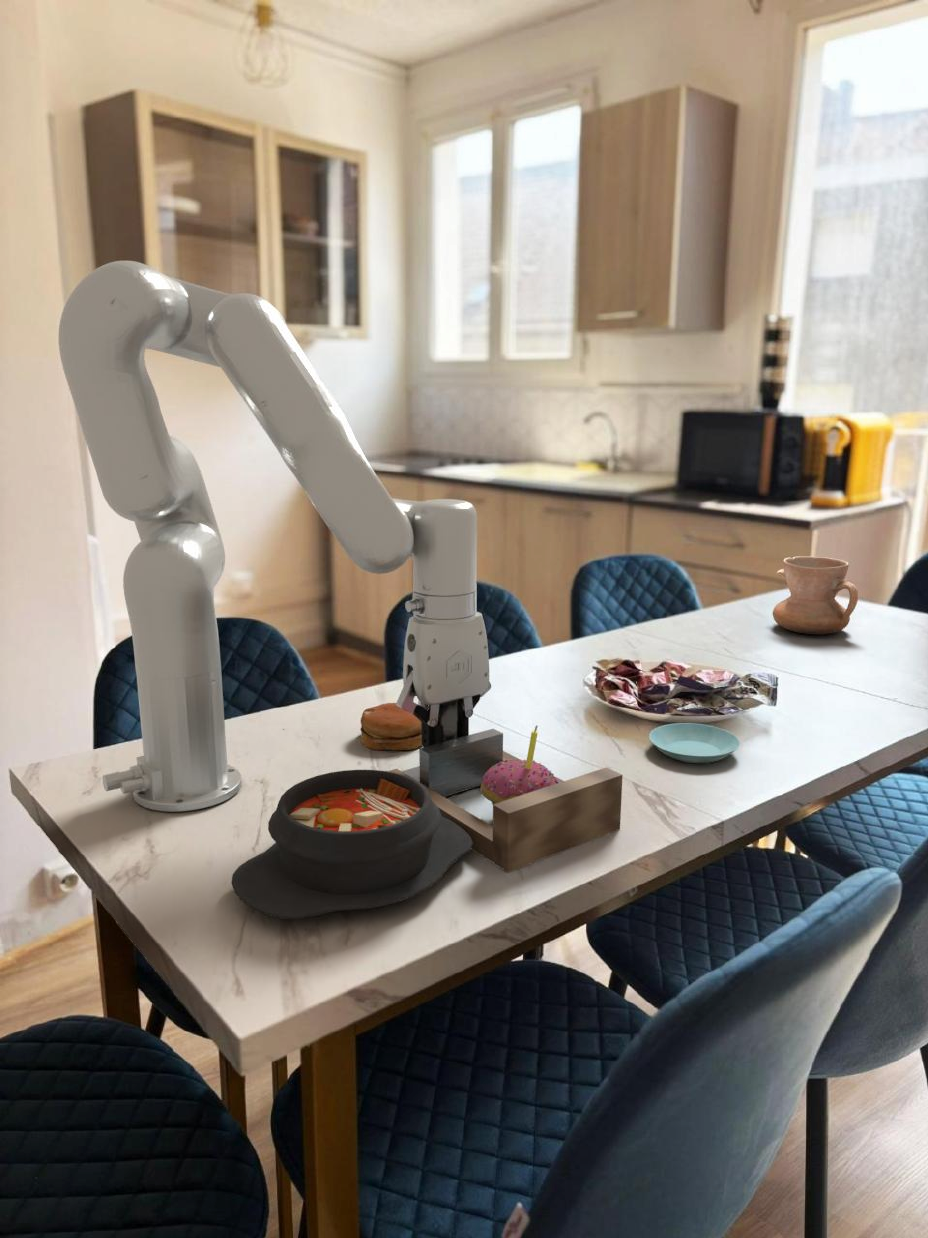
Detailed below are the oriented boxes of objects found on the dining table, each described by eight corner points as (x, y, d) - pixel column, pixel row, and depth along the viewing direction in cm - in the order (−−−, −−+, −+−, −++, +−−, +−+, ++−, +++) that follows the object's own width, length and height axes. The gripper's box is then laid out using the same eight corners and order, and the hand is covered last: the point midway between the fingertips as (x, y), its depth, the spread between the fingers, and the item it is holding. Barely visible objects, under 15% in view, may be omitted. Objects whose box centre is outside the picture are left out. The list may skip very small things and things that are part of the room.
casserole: (405, 809, 108) (404, 741, 106) (511, 872, 94) (513, 796, 92) (200, 878, 92) (195, 801, 90) (291, 967, 78) (287, 877, 76)
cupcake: (568, 816, 106) (571, 717, 103) (535, 847, 99) (538, 741, 96) (502, 799, 110) (503, 704, 107) (466, 828, 103) (466, 726, 100)
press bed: (507, 872, 93) (508, 813, 92) (383, 790, 112) (382, 740, 111) (619, 829, 103) (622, 774, 101) (487, 760, 121) (488, 713, 120)
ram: (429, 801, 109) (428, 719, 106) (397, 781, 114) (396, 703, 112) (502, 778, 115) (503, 700, 112) (468, 760, 120) (469, 686, 118)
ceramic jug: (751, 626, 189) (756, 557, 186) (797, 617, 197) (803, 551, 193) (827, 646, 175) (834, 572, 171) (873, 636, 182) (882, 565, 179)
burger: (436, 749, 126) (436, 716, 124) (369, 757, 123) (368, 724, 122) (416, 724, 135) (416, 694, 133) (353, 732, 132) (352, 701, 131)
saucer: (691, 778, 116) (693, 762, 116) (629, 748, 126) (630, 732, 126) (757, 760, 122) (759, 744, 122) (693, 732, 132) (694, 717, 132)
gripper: (403, 621, 102) (405, 775, 107) (518, 601, 112) (516, 744, 116) (368, 608, 108) (372, 755, 113) (481, 590, 117) (480, 726, 122)
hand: (445, 748), depth 114 cm, fingers closed on ram, 3 cm apart
